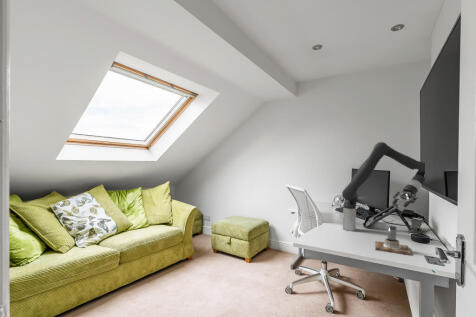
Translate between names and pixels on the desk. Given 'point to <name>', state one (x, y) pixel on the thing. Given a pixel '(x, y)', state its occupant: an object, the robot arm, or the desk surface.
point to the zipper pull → (415, 229)
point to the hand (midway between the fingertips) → (398, 205)
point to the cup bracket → (392, 247)
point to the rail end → (391, 233)
